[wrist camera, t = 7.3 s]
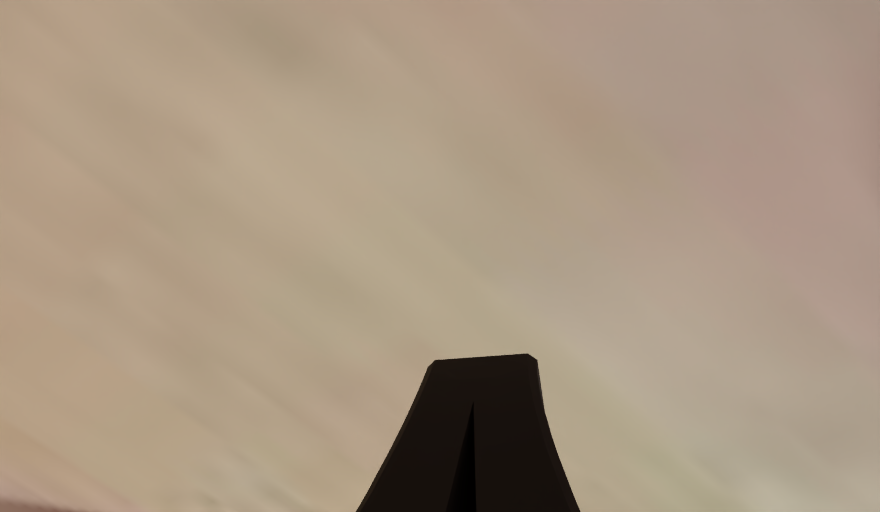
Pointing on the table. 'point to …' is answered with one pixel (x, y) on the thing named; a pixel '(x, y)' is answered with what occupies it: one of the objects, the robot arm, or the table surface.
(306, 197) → the table surface
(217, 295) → the table surface
